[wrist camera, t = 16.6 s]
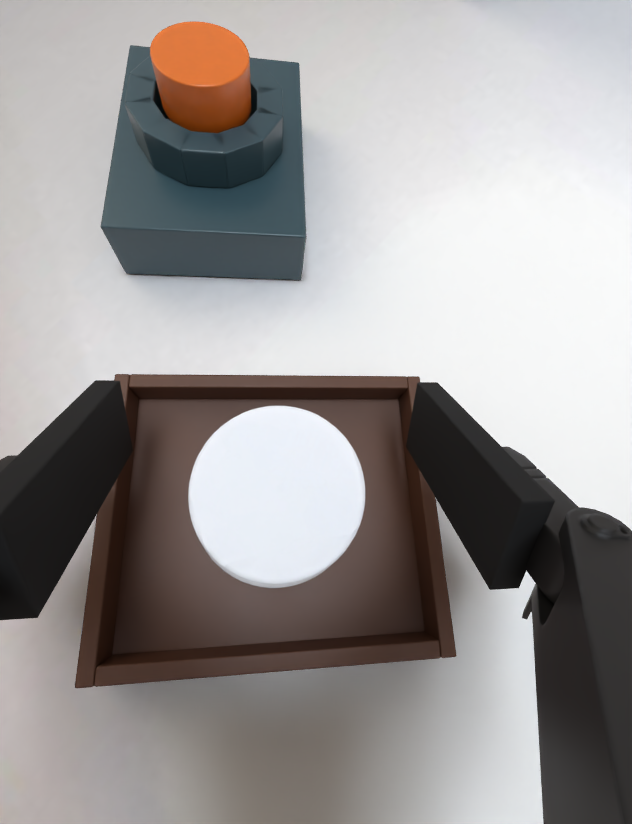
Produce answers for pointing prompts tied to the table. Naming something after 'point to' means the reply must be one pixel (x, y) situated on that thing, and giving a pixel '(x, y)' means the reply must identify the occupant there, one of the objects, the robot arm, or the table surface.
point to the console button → (202, 76)
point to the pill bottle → (276, 496)
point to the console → (208, 183)
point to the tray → (241, 602)
